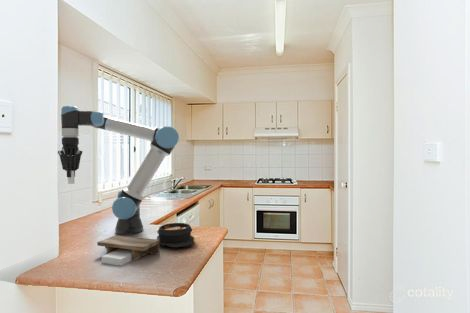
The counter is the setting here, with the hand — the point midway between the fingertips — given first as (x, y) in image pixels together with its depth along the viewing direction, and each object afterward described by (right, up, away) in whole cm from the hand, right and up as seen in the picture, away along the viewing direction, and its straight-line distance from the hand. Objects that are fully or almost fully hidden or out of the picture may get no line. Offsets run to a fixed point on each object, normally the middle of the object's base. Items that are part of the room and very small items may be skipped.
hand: (71, 183), depth 150 cm
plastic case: (+36, -30, -25) cm, 53 cm away
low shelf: (+37, -29, -20) cm, 51 cm away
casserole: (+54, -29, -5) cm, 61 cm away
